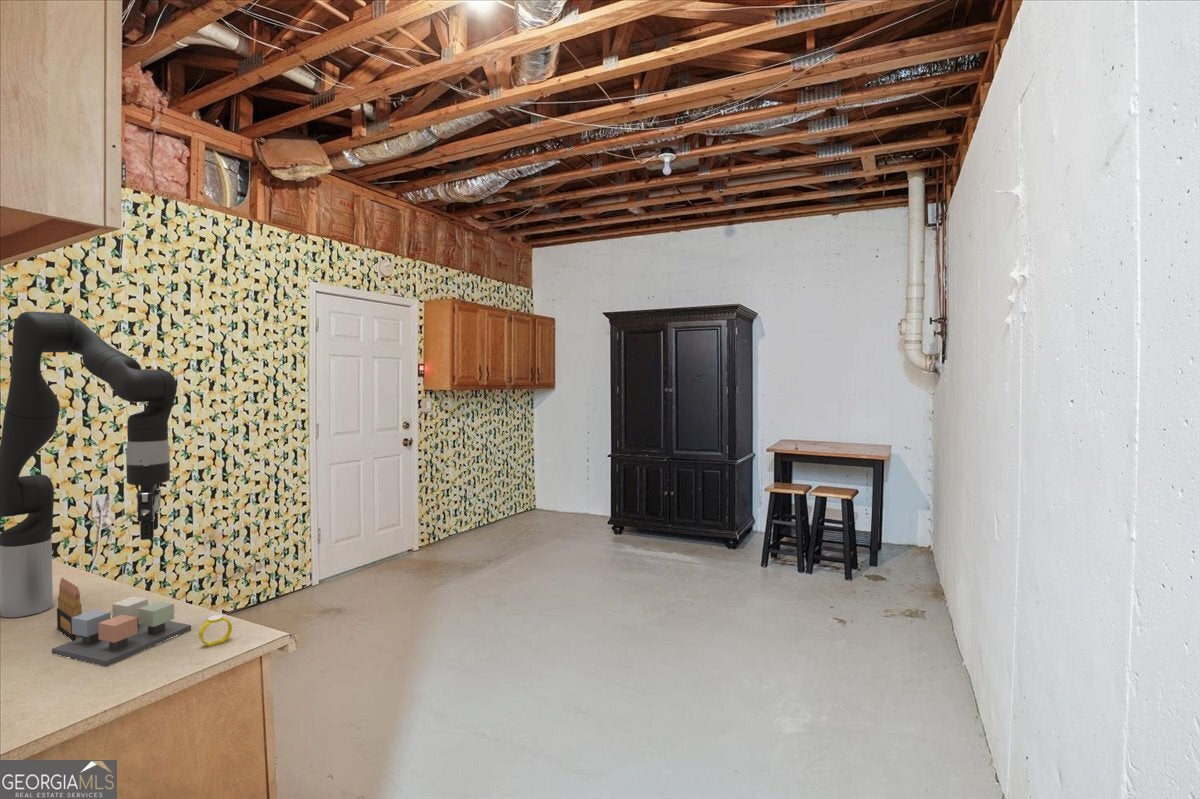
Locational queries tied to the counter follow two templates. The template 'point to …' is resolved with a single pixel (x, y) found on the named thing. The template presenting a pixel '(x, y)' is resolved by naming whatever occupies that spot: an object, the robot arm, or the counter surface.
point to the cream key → (128, 606)
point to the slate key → (89, 622)
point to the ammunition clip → (68, 608)
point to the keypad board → (117, 655)
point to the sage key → (155, 613)
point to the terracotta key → (117, 628)
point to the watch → (213, 620)
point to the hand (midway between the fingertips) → (149, 534)
